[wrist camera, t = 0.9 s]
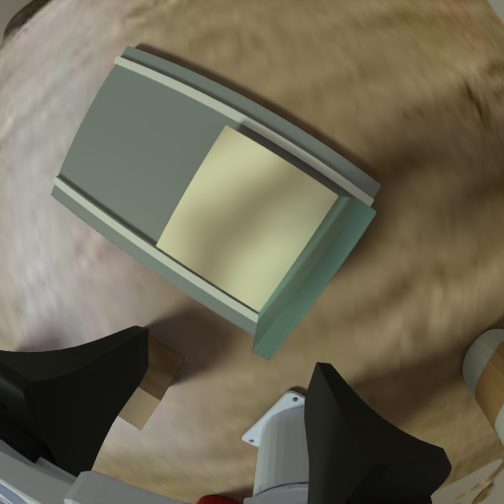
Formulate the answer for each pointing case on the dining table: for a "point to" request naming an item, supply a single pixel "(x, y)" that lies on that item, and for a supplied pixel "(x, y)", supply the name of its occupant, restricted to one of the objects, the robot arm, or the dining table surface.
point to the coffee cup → (487, 376)
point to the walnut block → (152, 383)
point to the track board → (175, 162)
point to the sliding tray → (263, 233)
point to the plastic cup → (215, 500)
